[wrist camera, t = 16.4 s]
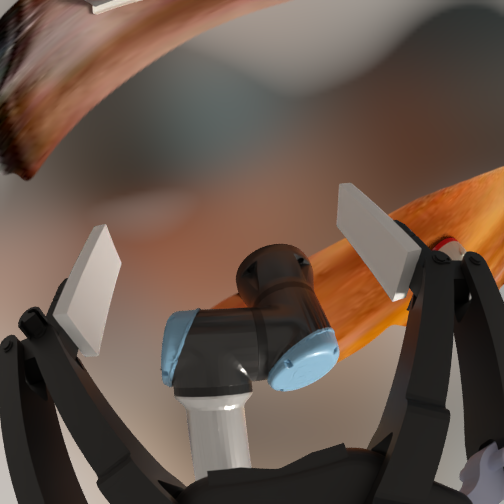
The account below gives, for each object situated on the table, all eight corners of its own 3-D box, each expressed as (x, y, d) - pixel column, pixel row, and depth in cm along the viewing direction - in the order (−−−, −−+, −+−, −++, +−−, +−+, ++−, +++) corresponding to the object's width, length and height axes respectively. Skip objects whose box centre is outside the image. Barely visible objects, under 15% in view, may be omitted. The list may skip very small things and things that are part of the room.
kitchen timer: (438, 281, 70) (466, 315, 58) (414, 274, 66) (445, 313, 54) (464, 243, 64) (496, 276, 52) (443, 231, 59) (480, 267, 47)
